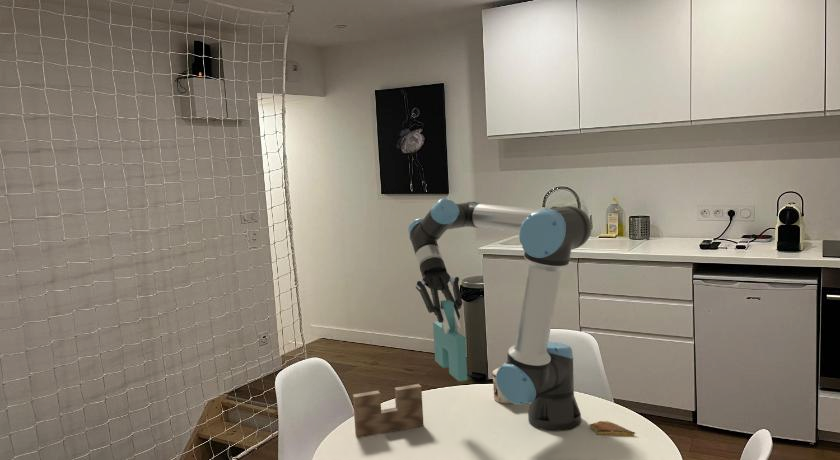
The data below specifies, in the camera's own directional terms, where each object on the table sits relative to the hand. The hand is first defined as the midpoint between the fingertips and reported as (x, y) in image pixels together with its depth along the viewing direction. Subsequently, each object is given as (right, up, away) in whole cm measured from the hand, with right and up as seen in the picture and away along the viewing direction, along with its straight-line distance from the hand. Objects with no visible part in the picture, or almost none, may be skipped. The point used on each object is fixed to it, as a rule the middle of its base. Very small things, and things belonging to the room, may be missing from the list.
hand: (453, 330), depth 175 cm
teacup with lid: (+19, -27, +27) cm, 42 cm away
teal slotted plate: (0, -12, +5) cm, 13 cm away
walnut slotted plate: (-18, -31, +9) cm, 37 cm away
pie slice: (+45, -29, +1) cm, 53 cm away
